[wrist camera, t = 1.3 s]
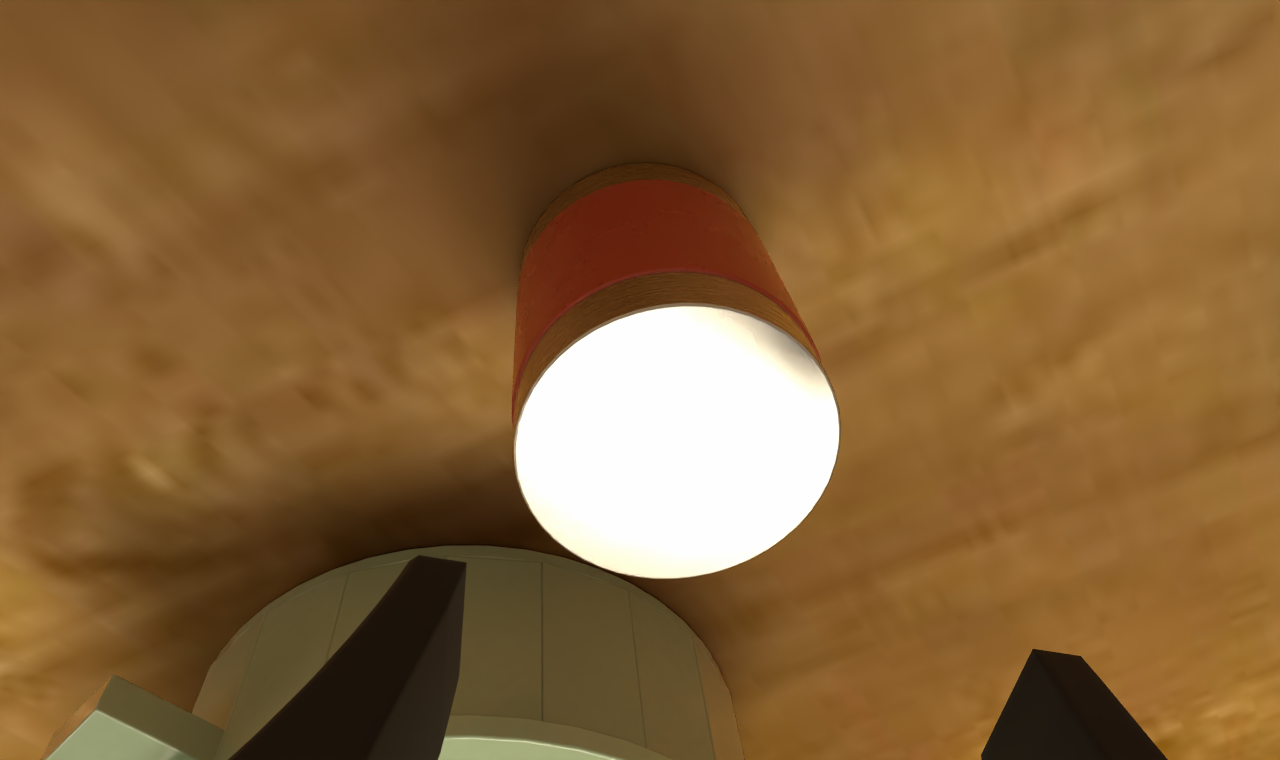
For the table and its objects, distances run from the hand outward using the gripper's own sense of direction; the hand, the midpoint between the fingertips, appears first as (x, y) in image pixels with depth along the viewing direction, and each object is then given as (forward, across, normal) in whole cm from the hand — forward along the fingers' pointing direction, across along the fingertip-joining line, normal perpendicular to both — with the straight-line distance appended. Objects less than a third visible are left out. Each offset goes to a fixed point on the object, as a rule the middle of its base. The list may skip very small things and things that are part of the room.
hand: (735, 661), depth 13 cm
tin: (+11, +2, 0) cm, 11 cm away
